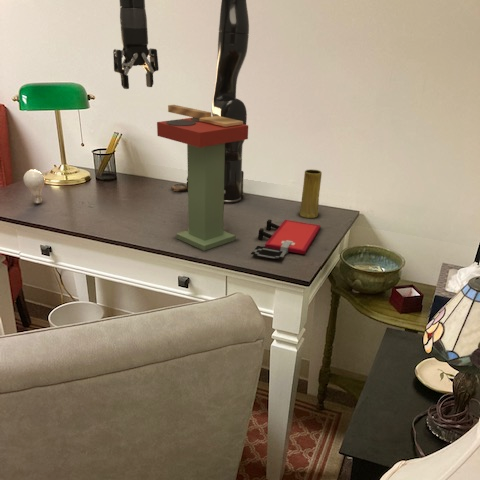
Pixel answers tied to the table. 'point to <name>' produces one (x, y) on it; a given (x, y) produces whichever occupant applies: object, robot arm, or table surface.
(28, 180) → the lightbulb
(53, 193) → the table surface
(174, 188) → the compass
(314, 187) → the vase
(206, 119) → the spatula
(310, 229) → the red board with handle
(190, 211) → the pedestal side table
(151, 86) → the robot arm
